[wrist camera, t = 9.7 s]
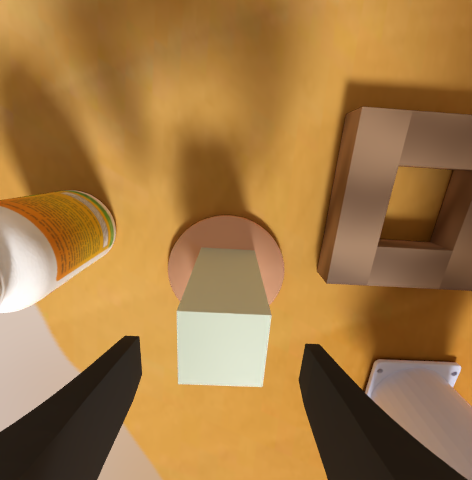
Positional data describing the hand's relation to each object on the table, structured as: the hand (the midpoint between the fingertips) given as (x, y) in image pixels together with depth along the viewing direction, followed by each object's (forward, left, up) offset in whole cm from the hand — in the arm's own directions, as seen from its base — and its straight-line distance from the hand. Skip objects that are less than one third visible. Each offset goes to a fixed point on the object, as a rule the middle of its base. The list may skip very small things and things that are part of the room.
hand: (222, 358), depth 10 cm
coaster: (0, 0, -9) cm, 9 cm away
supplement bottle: (+3, +11, -9) cm, 15 cm away
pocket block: (+6, -13, -9) cm, 17 cm away
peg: (0, 0, -8) cm, 8 cm away
